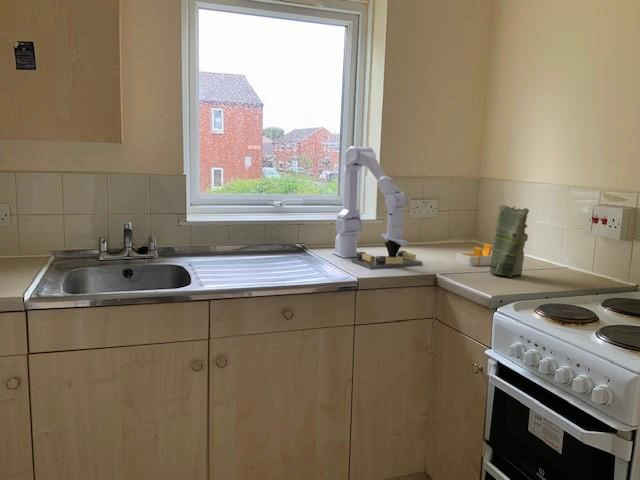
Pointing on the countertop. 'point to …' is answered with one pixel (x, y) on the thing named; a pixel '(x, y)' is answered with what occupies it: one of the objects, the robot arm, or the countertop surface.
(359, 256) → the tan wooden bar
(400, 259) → the near knob
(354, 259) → the levelling plate
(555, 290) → the countertop surface
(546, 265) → the countertop surface
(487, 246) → the pipe clamp
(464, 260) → the parts bin frame
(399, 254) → the far knob
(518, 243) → the pouch
